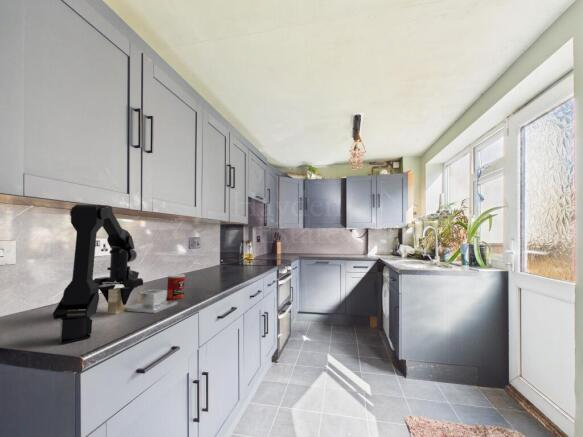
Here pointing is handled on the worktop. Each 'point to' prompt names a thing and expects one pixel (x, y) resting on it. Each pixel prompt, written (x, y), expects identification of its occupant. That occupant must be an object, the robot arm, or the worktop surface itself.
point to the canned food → (176, 286)
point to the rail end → (115, 301)
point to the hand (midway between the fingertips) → (117, 304)
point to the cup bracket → (151, 302)
